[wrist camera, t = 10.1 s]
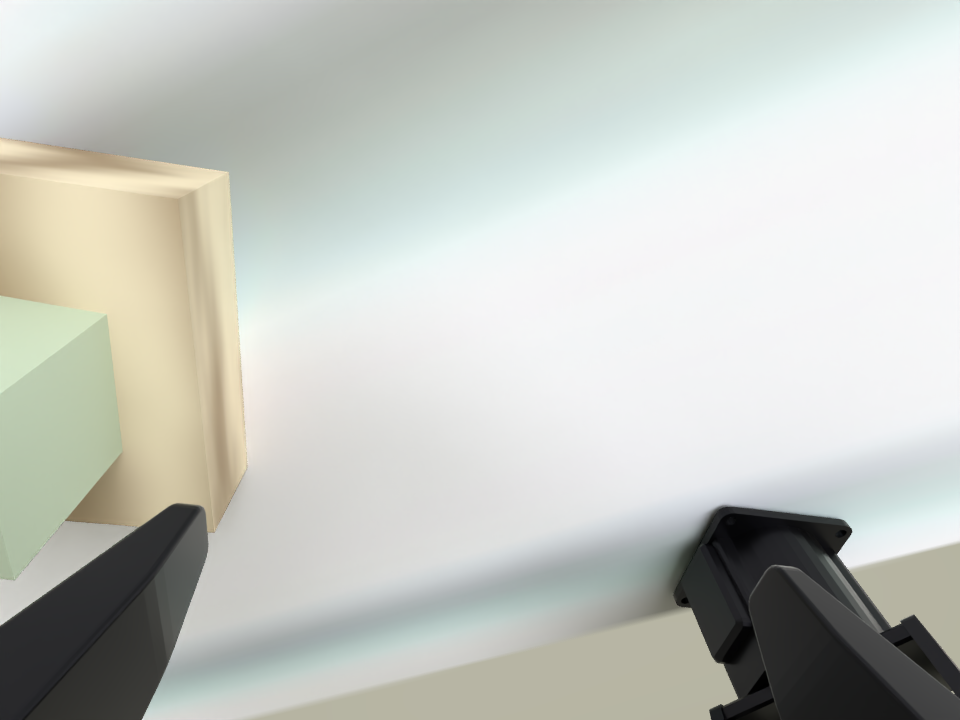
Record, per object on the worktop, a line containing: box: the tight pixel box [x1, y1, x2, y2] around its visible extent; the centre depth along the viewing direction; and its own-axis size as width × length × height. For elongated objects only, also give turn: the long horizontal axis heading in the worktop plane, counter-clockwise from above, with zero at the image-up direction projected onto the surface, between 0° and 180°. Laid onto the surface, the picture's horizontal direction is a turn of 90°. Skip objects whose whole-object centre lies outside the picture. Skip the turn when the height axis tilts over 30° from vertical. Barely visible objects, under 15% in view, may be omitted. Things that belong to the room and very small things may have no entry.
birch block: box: [0, 138, 247, 533], centre depth 18 cm, size 10×12×4 cm
